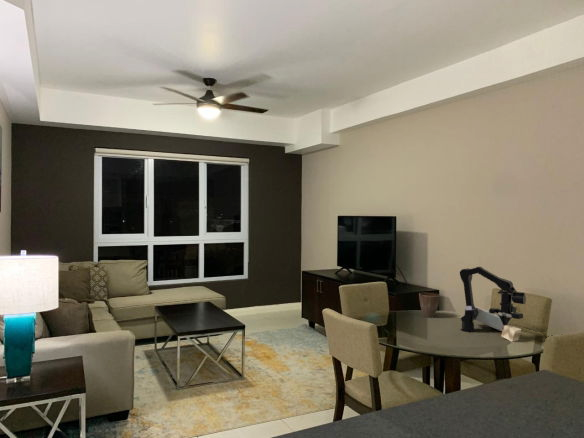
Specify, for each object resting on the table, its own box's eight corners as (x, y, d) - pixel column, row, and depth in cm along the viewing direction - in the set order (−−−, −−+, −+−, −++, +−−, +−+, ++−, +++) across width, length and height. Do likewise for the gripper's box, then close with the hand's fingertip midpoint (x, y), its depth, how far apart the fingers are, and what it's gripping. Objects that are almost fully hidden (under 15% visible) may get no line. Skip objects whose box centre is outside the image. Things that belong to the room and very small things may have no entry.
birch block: (504, 325, 268) (515, 330, 263) (510, 324, 272) (521, 329, 267) (501, 336, 270) (512, 341, 264) (507, 334, 274) (518, 340, 268)
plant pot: (425, 313, 334) (425, 291, 334) (443, 317, 323) (444, 294, 323) (414, 316, 324) (414, 293, 324) (432, 320, 313) (433, 297, 313)
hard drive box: (510, 321, 284) (479, 309, 286) (505, 332, 284) (474, 320, 286) (501, 316, 299) (472, 304, 301) (497, 326, 300) (468, 315, 302)
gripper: (528, 303, 268) (527, 329, 268) (499, 297, 283) (498, 322, 284) (518, 305, 262) (517, 331, 262) (488, 299, 277) (488, 324, 277)
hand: (505, 327), depth 271 cm, fingers closed
